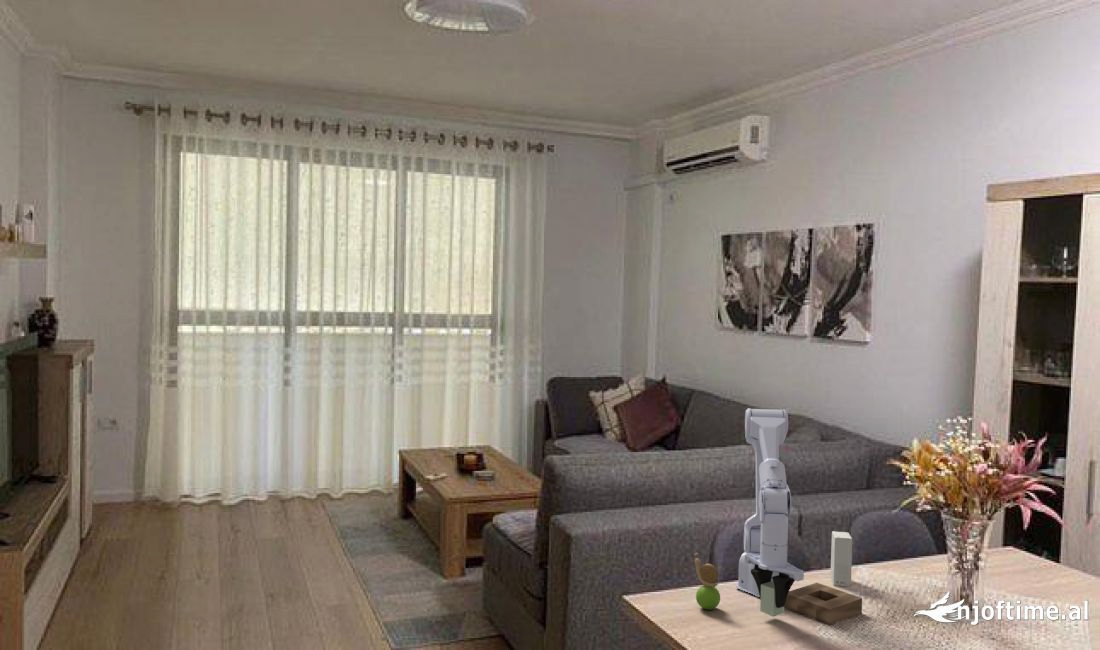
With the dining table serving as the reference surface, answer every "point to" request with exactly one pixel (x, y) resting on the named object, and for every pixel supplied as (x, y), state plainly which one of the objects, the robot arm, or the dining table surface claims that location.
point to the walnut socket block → (823, 603)
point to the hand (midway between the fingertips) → (772, 603)
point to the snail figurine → (707, 585)
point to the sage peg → (769, 600)
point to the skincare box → (841, 558)
